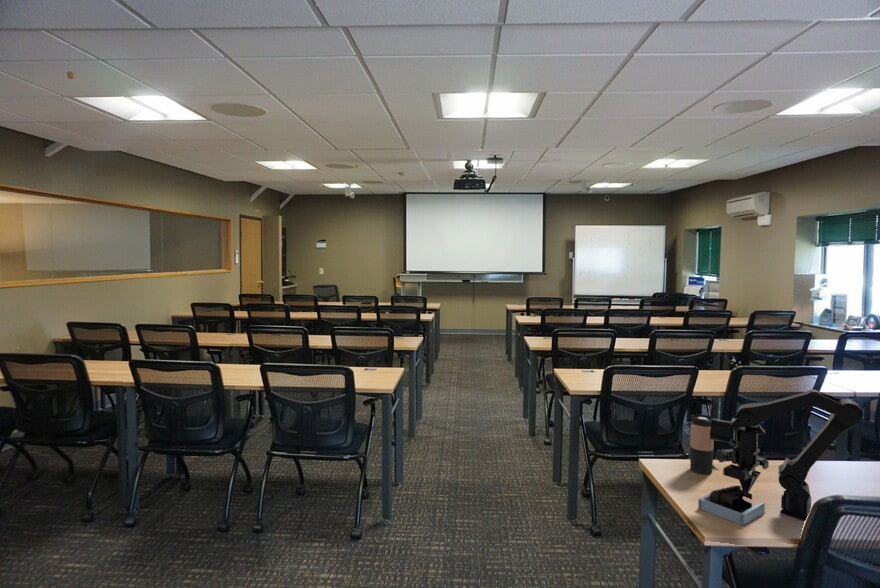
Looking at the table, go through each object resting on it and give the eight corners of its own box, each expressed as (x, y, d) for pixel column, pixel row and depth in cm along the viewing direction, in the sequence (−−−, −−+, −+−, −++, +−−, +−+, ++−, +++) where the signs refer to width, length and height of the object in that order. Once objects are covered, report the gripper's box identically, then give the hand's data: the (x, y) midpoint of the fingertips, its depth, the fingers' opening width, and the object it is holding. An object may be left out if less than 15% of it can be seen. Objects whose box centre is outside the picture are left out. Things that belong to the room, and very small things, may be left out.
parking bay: (764, 512, 153) (764, 502, 153) (743, 525, 145) (743, 515, 145) (720, 496, 164) (720, 487, 164) (698, 508, 156) (698, 498, 156)
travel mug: (692, 465, 191) (693, 413, 190) (714, 470, 186) (716, 416, 186) (687, 471, 185) (688, 417, 184) (710, 476, 180) (712, 421, 180)
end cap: (730, 503, 160) (731, 482, 159) (752, 513, 153) (753, 491, 153) (708, 508, 156) (709, 487, 155) (729, 519, 149) (730, 496, 149)
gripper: (733, 433, 171) (732, 478, 172) (706, 444, 160) (705, 492, 160) (769, 442, 162) (768, 489, 163) (744, 454, 151) (743, 505, 152)
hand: (745, 493), depth 160 cm, fingers closed
